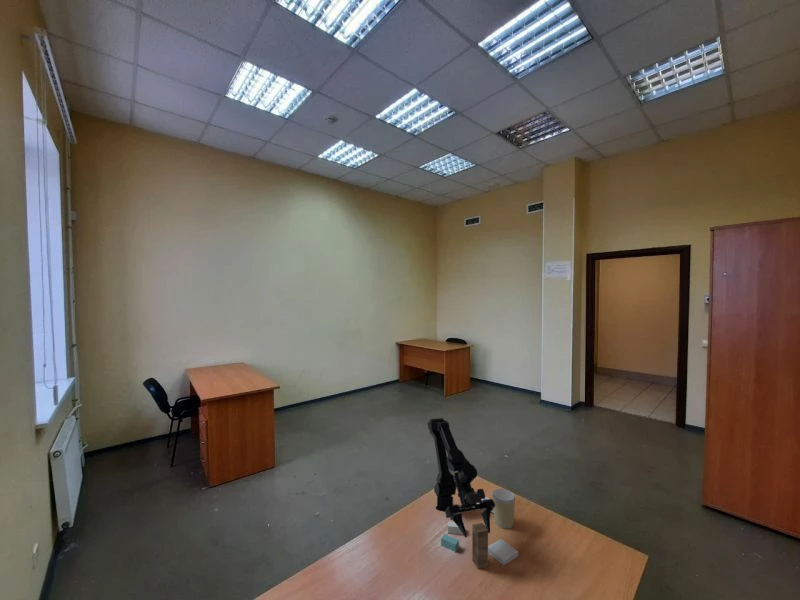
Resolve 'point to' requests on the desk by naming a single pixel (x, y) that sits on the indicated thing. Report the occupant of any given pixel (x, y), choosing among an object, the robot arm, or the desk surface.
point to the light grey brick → (453, 528)
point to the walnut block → (480, 545)
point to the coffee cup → (503, 508)
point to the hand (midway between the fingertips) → (477, 535)
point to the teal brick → (449, 542)
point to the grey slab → (502, 551)
